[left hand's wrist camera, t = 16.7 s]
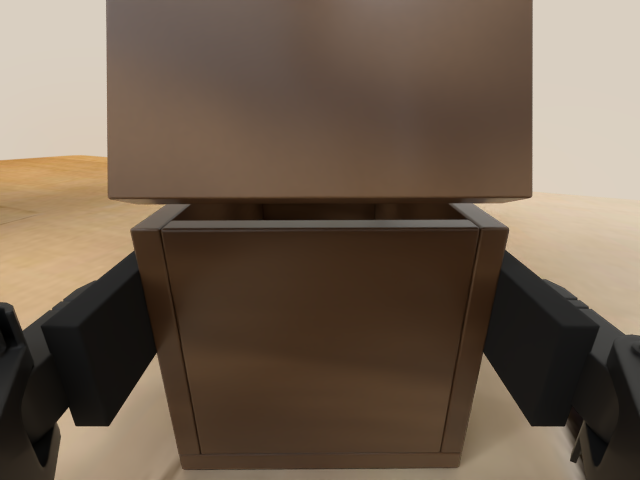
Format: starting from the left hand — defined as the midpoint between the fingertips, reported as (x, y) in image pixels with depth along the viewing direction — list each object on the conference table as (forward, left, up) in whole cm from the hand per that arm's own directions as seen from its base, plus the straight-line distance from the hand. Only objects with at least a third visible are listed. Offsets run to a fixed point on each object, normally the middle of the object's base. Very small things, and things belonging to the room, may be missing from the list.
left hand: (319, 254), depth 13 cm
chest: (+4, -2, -6) cm, 8 cm away
